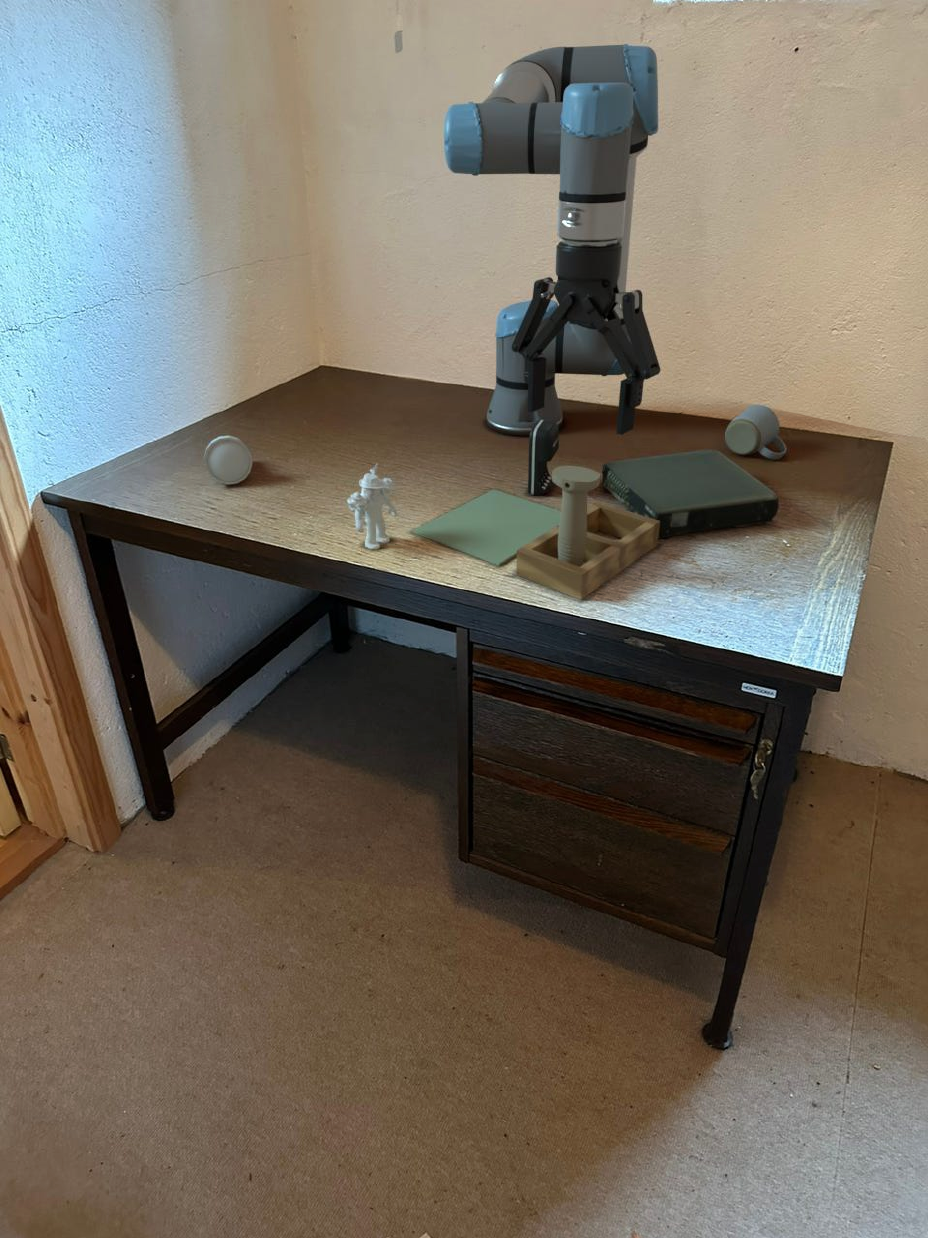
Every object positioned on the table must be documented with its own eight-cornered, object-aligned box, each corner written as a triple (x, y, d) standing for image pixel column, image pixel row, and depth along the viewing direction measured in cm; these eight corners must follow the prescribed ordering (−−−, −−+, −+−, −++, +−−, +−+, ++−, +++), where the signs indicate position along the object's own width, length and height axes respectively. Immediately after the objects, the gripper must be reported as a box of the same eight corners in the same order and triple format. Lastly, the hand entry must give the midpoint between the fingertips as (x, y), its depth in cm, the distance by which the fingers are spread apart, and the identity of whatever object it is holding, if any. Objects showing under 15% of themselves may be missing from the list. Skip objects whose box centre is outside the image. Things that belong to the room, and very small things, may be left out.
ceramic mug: (719, 452, 158) (725, 412, 154) (737, 439, 164) (744, 400, 160) (774, 466, 153) (783, 425, 149) (791, 452, 158) (800, 412, 154)
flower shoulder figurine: (386, 528, 134) (381, 456, 128) (405, 535, 132) (401, 462, 126) (346, 550, 128) (339, 476, 122) (366, 558, 126) (359, 482, 120)
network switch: (586, 490, 145) (588, 462, 143) (702, 468, 152) (706, 441, 150) (662, 549, 127) (666, 519, 124) (790, 521, 134) (797, 492, 131)
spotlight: (203, 483, 147) (204, 436, 144) (203, 471, 157) (204, 427, 154) (251, 486, 149) (253, 439, 146) (249, 474, 159) (250, 431, 157)
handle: (582, 585, 118) (589, 485, 110) (542, 572, 122) (546, 474, 113) (598, 571, 122) (606, 472, 114) (558, 559, 125) (563, 462, 117)
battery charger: (549, 498, 143) (551, 432, 137) (526, 495, 144) (528, 430, 138) (558, 482, 148) (561, 418, 142) (537, 479, 149) (539, 416, 143)
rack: (595, 524, 134) (597, 501, 132) (657, 545, 128) (660, 520, 126) (516, 574, 121) (516, 549, 119) (580, 600, 115) (582, 574, 113)
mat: (493, 491, 146) (493, 488, 145) (576, 518, 136) (576, 516, 136) (413, 532, 133) (413, 530, 133) (498, 566, 123) (498, 563, 123)
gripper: (484, 235, 103) (485, 407, 114) (670, 256, 89) (649, 450, 100) (522, 227, 107) (519, 393, 119) (704, 246, 94) (680, 432, 105)
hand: (578, 420), depth 110 cm, fingers open, 13 cm apart
